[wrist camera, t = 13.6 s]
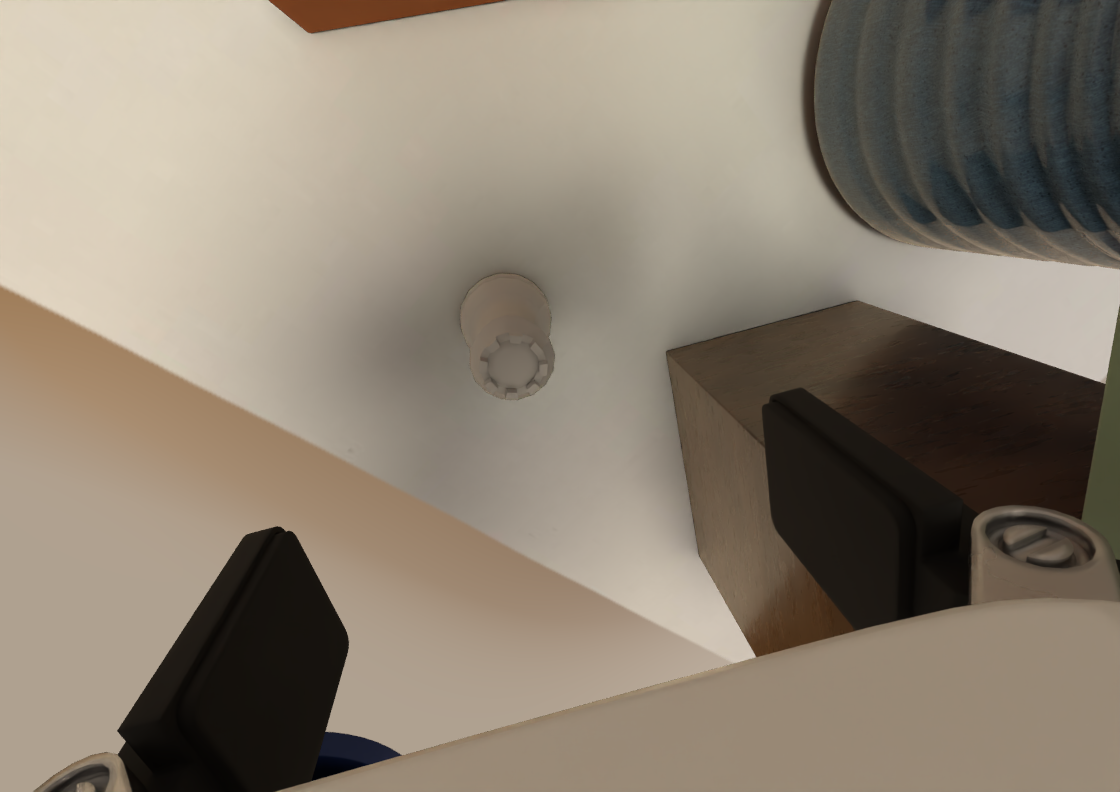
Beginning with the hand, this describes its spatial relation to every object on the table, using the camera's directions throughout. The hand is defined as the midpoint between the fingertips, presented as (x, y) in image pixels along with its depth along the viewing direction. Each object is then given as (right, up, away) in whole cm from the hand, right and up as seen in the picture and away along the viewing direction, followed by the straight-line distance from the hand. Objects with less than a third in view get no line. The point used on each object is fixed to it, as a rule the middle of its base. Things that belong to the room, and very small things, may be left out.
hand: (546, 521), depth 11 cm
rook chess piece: (-2, +6, +17) cm, 18 cm away
